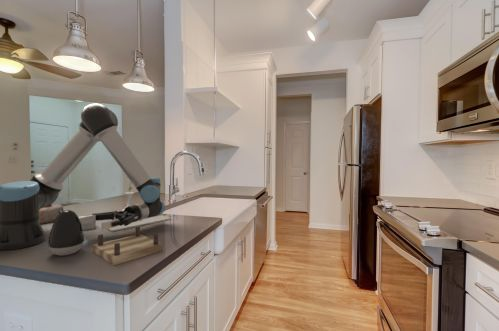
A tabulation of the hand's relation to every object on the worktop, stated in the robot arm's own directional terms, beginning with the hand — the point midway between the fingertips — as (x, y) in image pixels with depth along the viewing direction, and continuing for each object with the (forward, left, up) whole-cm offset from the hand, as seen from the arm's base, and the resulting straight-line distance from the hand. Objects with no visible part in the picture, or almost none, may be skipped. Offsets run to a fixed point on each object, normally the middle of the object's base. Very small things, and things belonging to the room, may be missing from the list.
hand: (90, 224), depth 94 cm
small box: (-28, +7, -9) cm, 30 cm away
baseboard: (-18, +28, -9) cm, 35 cm away
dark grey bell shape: (+2, -8, -9) cm, 12 cm away
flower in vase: (-34, +31, -9) cm, 47 cm away
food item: (-52, -3, -9) cm, 53 cm away
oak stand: (+16, +7, -8) cm, 19 cm away
